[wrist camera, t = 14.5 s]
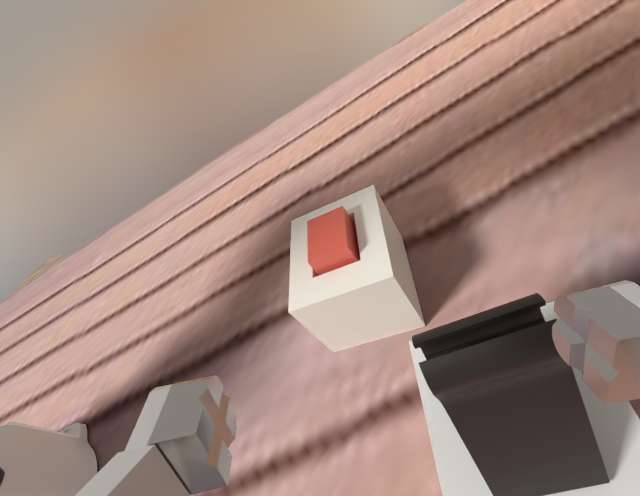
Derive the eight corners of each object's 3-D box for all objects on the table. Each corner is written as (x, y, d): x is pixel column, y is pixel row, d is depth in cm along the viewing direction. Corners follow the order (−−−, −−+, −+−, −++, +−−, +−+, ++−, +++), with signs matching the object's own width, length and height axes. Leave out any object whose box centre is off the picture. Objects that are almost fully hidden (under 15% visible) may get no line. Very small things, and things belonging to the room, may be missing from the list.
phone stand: (610, 484, 20) (623, 421, 12) (498, 505, 22) (446, 461, 14) (529, 339, 26) (504, 235, 18) (447, 363, 28) (393, 279, 20)
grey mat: (461, 562, 22) (457, 561, 21) (412, 346, 31) (408, 341, 31) (710, 545, 18) (714, 543, 17) (566, 304, 27) (566, 297, 27)
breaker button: (324, 282, 32) (307, 262, 30) (322, 241, 35) (307, 221, 33) (363, 268, 31) (347, 247, 29) (357, 227, 34) (342, 205, 32)
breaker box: (333, 352, 35) (288, 312, 30) (327, 264, 42) (291, 220, 37) (425, 326, 32) (393, 276, 27) (402, 236, 39) (373, 184, 34)
